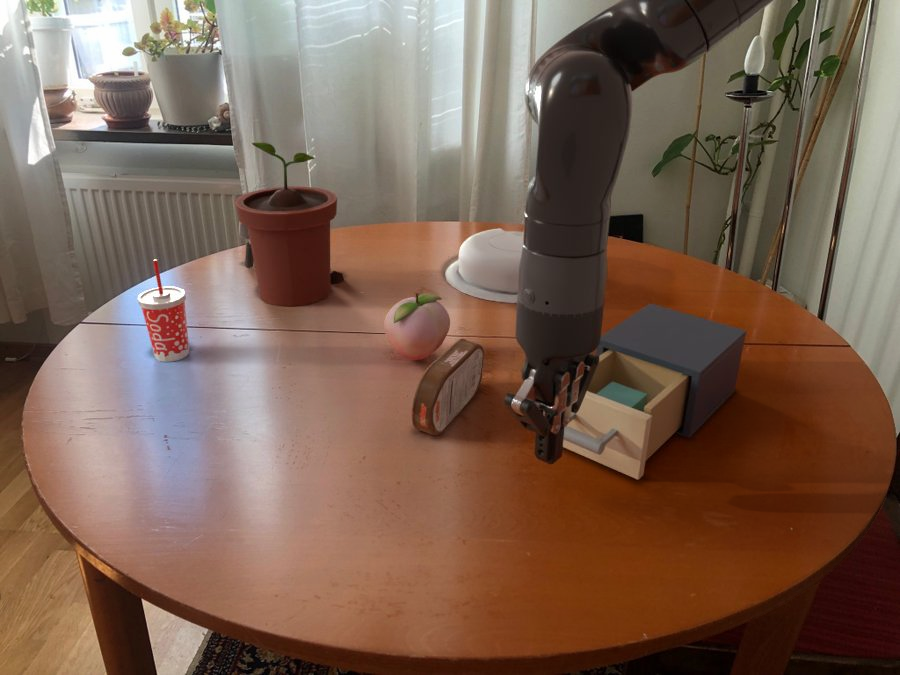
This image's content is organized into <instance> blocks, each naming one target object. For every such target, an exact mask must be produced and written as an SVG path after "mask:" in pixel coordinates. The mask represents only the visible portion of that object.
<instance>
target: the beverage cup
mask: <svg viewBox="0 0 900 675" xmlns="http://www.w3.org/2000/svg"><path fill="white" fill-rule="evenodd" d="M152 262H153V267H154V274H155V277H156V284H157V287H153V288H150V289H147V290H144V291H142V292H141V293H139V294H138V296H137V298H136V300H137V302H138V306H139V308H141V310H142V315H143V318H144V322H145V326H146V329H147V330H146V331H147V333H148V337H149V340H150V344H151V348H152V351H153V356H154V359H155V360H157V361H159V362H165V363H169V362H170V363H172V362H176V361H180V360H182V359H183V360H184V359H185V358H186V357H187V356H189V354H190V342H189V332H188V324H187V312H186V303H185V302H186V300H187V297H186V295H187V294H186V291H185V289H183V288H181V287H178V286H171V285H170V286H162V281H161V275H160V274H161V273H160V268H159V263H158V259H157V258H155V259H153V261H152Z"/></svg>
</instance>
